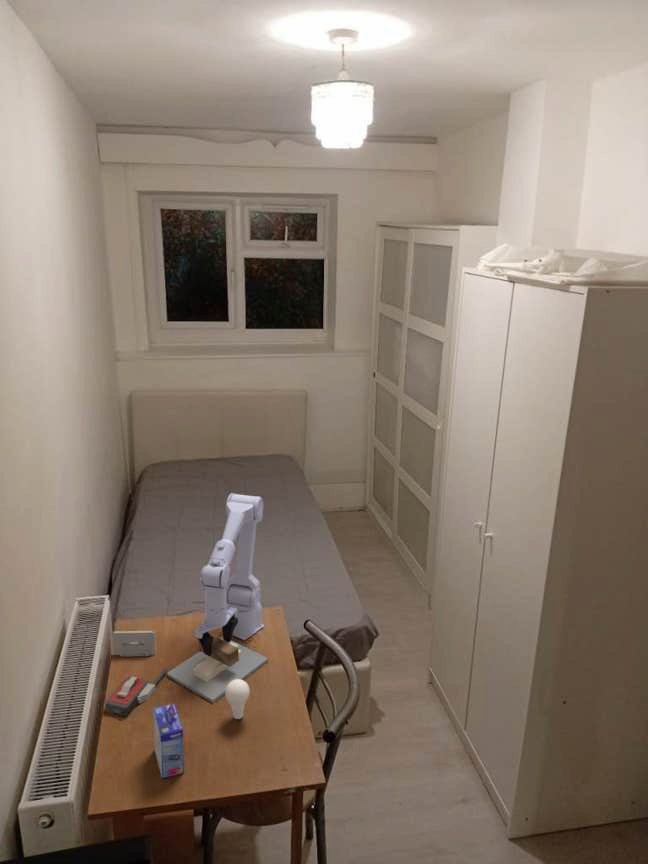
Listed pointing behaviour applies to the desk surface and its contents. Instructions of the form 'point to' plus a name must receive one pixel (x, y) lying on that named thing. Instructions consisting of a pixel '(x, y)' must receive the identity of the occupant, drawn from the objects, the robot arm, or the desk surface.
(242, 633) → the robot arm
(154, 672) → the desk surface
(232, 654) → the walnut bar
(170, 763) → the ink cartridge box
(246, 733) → the desk surface
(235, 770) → the desk surface
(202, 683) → the ridge stand
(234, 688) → the lightbulb
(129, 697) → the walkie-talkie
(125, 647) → the cassette
